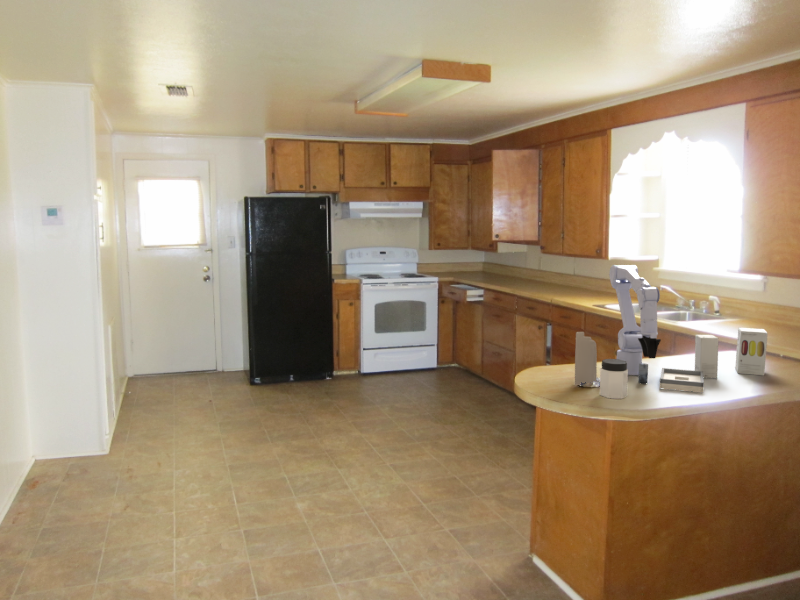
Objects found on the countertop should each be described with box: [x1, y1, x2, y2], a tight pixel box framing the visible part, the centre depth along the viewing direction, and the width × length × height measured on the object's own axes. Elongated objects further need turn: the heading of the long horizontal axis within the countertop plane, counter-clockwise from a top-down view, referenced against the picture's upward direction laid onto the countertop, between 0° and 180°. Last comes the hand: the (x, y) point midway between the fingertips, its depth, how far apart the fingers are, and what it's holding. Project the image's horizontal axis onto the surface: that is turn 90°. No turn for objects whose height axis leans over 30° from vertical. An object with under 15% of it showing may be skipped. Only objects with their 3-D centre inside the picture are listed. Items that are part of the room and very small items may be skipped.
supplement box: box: [734, 327, 769, 376], centre depth 247 cm, size 10×9×17 cm
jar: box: [599, 358, 629, 400], centre depth 216 cm, size 9×8×12 cm
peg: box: [637, 362, 649, 385], centre depth 232 cm, size 3×3×7 cm
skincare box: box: [694, 334, 720, 379], centre depth 241 cm, size 8×7×16 cm
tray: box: [659, 367, 705, 394], centre depth 230 cm, size 14×18×4 cm
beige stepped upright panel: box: [574, 331, 598, 386], centre depth 229 cm, size 7×14×20 cm, turn 91°
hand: (649, 357), depth 231 cm, fingers open, 7 cm apart
